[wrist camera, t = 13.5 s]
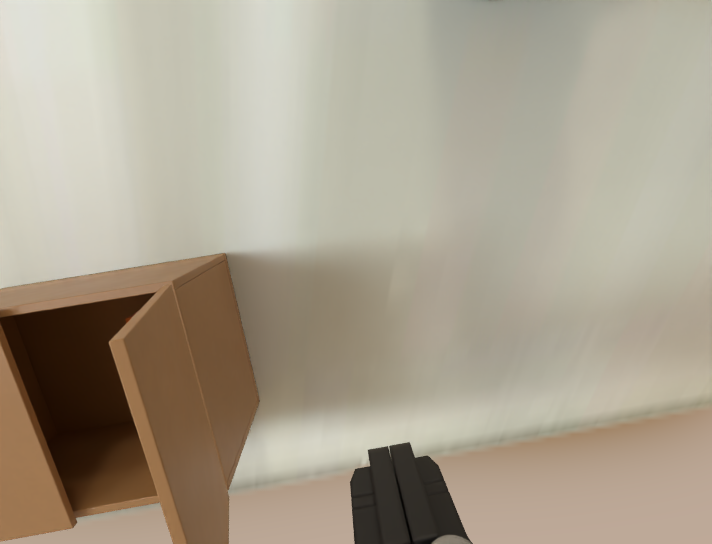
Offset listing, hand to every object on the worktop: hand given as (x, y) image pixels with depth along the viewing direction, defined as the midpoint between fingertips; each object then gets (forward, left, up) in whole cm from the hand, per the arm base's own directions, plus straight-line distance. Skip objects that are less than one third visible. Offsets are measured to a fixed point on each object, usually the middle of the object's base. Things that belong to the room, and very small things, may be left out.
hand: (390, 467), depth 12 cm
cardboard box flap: (+8, 0, -3) cm, 9 cm away
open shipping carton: (+18, 0, -17) cm, 25 cm away
